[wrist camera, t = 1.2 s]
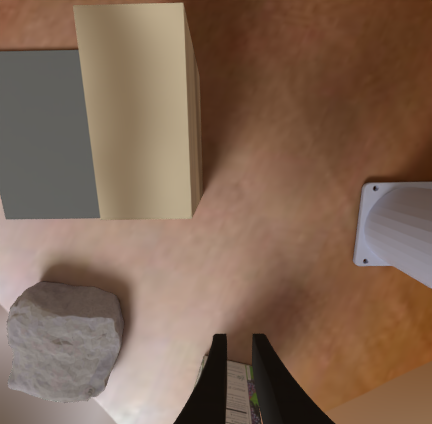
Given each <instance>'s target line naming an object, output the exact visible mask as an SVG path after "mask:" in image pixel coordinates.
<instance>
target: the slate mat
mask: <svg viewBox="0 0 432 424" xmlns="http://www.w3.org/2000/svg"><path fill="white" fill-rule="evenodd" d="M0 195H1V200H2V204H3V208H4V213H5V217H6V219H69V218H100V211H99V203H98V196H97V188H96V180H95V172H94V165H93V157H92V149H91V142H90V134H89V126H88V118H87V111H86V103H85V95H84V87H83V80H82V72H81V64H80V56H79V50H51V51H4V52H0Z"/></svg>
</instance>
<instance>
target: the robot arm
mask: <svg viewBox="0 0 432 424" xmlns="http://www.w3.org/2000/svg"><path fill="white" fill-rule="evenodd" d="M374 186H376V189H375V190H373V187H374ZM364 259H366V261H365V262H363V260H364ZM353 262H354V263H355V264H356V265H357V266H394V267H396V268H398V269H399V270H401V271H403V272H404V273H406V274H408V275H409V276H411V277H413V278H414V279H416V280H418V281H420V282H421V283H423V284H425V285H426V286H428V287H430V288H431V289H432V182H369V183H365V184H364V185H363V187H362V194H361V202H360V210H359V217H358V225H357V233H356V241H355V249H354V257H353ZM252 369H253V377H254V385H255V390H256V395H257V399H258V404H259V408H260V413H261V417H262V422H263V424H335V423H334V422H333V421H332V420H331V419H330V418H329V417H328V416H327V415H326V414H325V413H324V412H323V411H322V410H321V409H320V408H319V407H318V406H317V405H316V404H315V403H314V402H313V401H312V399H311V398H310V397H309V396H308V395H307V394H306V393H305V391H304V390H303V389H302V388H301V387H300V385H299V384H298V383H297V382H296V380H295V379H294V378H293V377H292V375H291V374H290V373H289V371H288V370H287V368H286V367H285V366H284V364H283V363H282V361H281V360H280V358H279V357H278V355H277V354H276V352H275V351H274V349H273V347H272V346H271V344H270V342H269V341H268V339H267V337H266V335H265V334H253V341H252ZM226 403H227V336H226V334H215V335H214V336H213V341H212V345H211V349H210V352H209V355H208V358H207V361H206V363H205V366H204V368H203V371H202V373H201V375H200V377H199V380H198V382H197V384H196V386H195V388H194V390H193V392H192V394H191V396H190V397H189V399H188V401H187V403H186V404H185V406H184V408H183V409H182V411H181V413H180V414H179V416H178V418H177V419H176V421H175V422H174V424H226Z"/></svg>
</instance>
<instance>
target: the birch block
mask: <svg viewBox="0 0 432 424" xmlns="http://www.w3.org/2000/svg"><path fill="white" fill-rule="evenodd" d="M73 10H74V18H75V26H76V33H77V41H78V49H79V56H80V64H81V72H82V80H83V87H84V95H85V103H86V111H87V118H88V126H89V134H90V142H91V149H92V157H93V165H94V172H95V180H96V188H97V196H98V203H99V211H100V219H101V220H131V219H192V217H193V215H194V213H195V211H196V209H197V207H198V204H199V202H200V200H201V198H202V196H203V182H202V146H201V109H200V76H199V72H198V67H197V62H196V58H195V53H194V49H193V44H192V40H191V35H190V31H189V26H188V22H187V17H186V13H185V8H184V4H183V3H154V4H113V5H73Z"/></svg>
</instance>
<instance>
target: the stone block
mask: <svg viewBox="0 0 432 424" xmlns="http://www.w3.org/2000/svg"><path fill="white" fill-rule="evenodd" d="M123 327H124V320H123V318H122V312H121V308H120V303H119V301H118V298H117V297H116V295H114V294H112V293H109V292H106V291H104V290H101V289H99V288H96V287H83V286H76V287H75V286H70V285H67V284H63V283H50V282H45V281H44V282H39V283H37V284H35V285H34V286H32V287H30V288H28V289H26V290H25V291H24V292H23V293H22V295H21V296H19V297H18V298H17V300H16V301H15V303H14V304H13V305H12V306H11V308H10V312H9V317H8V320H7V333H8V336H7V337H8V343H9V345H10V347H11V348H12V350H13V361H12V365H13V368H12V370H11V373H10V376H9V379H8V386H9V388H11V389H14V390H20V391H23V392H25V393H27V394H30V395H32V396H36V397H40V398H42V399H45V400H52V401H55V402H57V401H58V402H63V403H68V402H79V401H88V400H89V399H90V398H91V397H97V396H98V395H99V394H100V393H101V392H103V391H104V389H105V387H106V385H107V382H108V379H109V375H110V373H111V370H112V369H113V367H114V363H115V361H116V359H117V356H118V353H119V350H120V347H121V343H122V334H123Z"/></svg>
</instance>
